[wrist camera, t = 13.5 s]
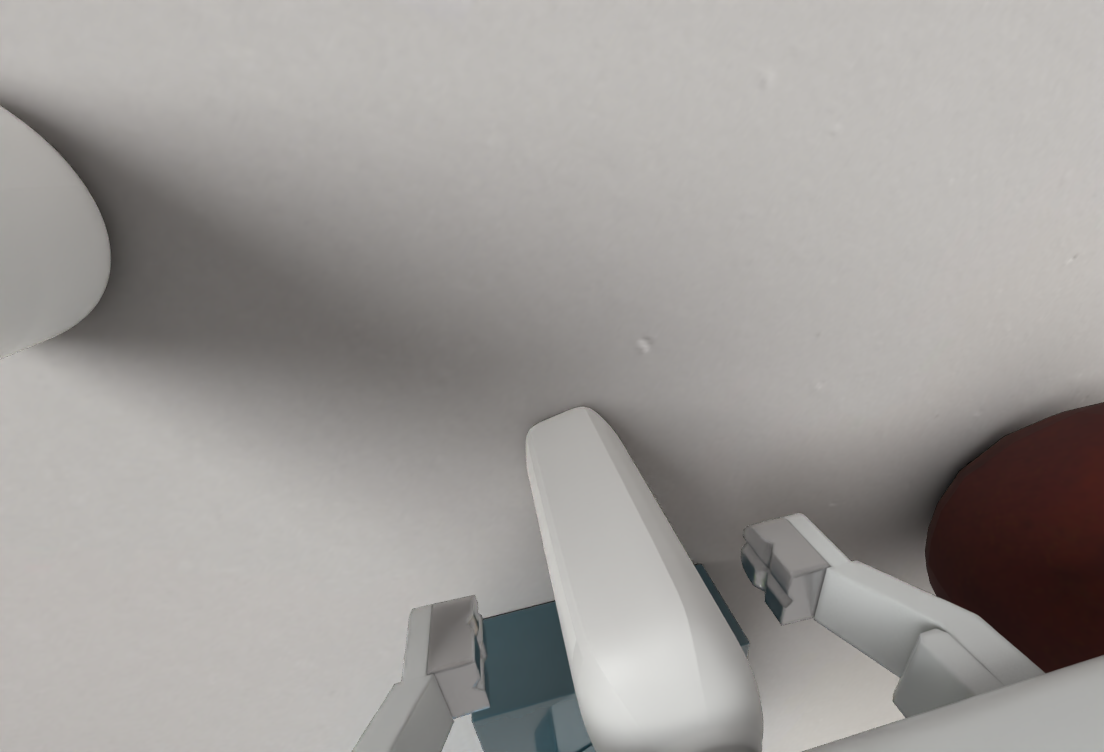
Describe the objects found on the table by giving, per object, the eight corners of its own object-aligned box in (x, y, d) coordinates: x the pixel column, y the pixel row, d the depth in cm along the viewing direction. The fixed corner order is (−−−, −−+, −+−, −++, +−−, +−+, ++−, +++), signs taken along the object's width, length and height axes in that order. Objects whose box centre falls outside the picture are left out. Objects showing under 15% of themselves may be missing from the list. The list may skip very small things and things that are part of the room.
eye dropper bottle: (509, 533, 15) (611, 1331, 5) (529, 397, 13) (804, 1339, 3) (621, 530, 16) (909, 1183, 6) (657, 403, 14) (1236, 1093, 4)
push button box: (469, 622, 17) (472, 801, 12) (701, 562, 18) (788, 705, 13) (512, 753, 22) (527, 918, 17) (693, 700, 23) (754, 840, 18)
